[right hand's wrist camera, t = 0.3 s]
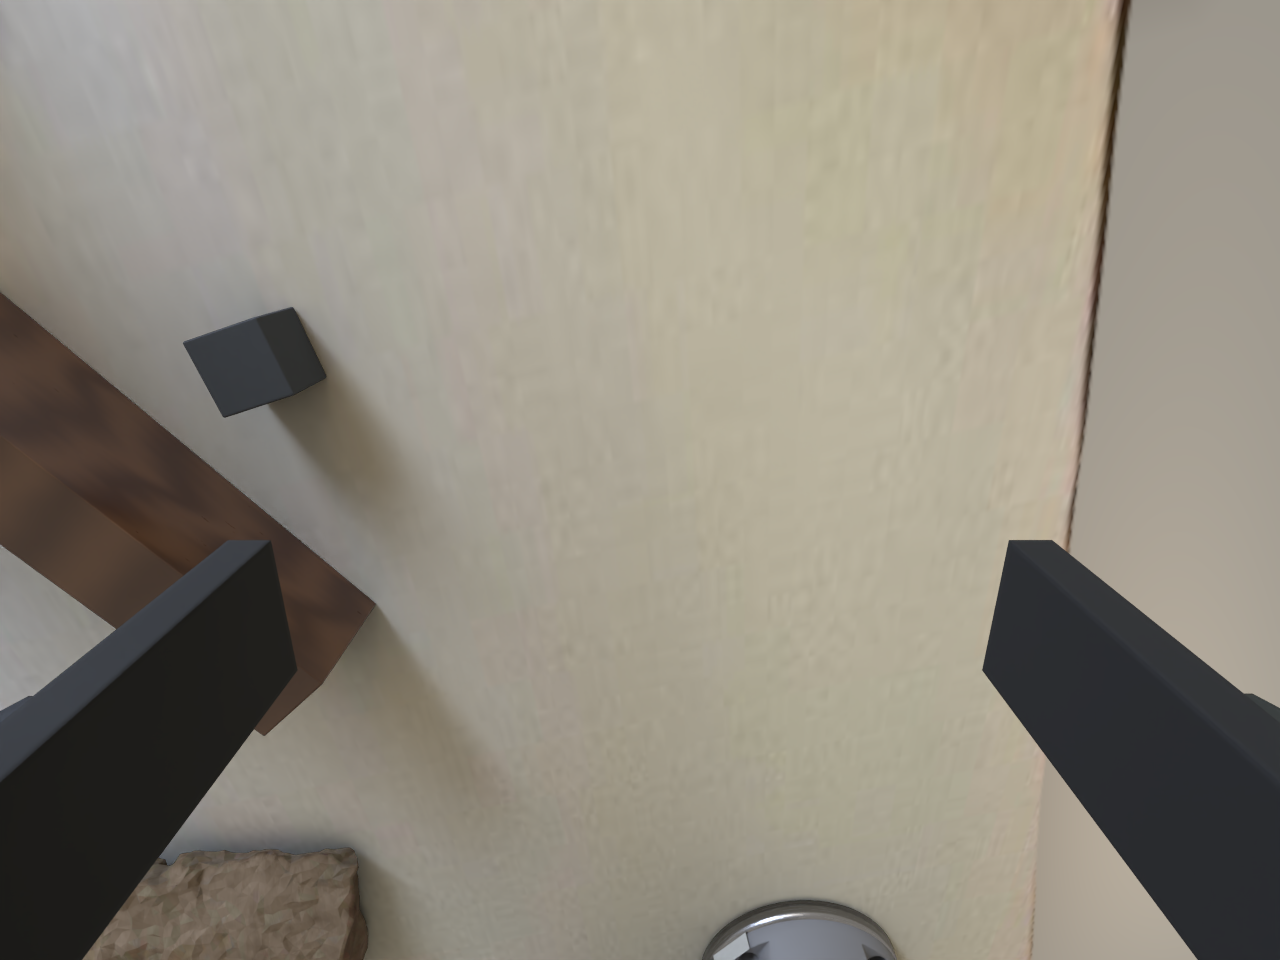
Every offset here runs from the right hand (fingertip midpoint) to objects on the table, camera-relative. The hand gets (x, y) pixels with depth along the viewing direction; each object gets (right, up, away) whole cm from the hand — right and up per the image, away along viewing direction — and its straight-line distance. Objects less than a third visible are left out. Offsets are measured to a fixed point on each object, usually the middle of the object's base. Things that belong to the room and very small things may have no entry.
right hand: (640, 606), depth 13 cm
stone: (-30, -29, +40) cm, 58 cm away
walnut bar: (-27, +2, +28) cm, 39 cm away
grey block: (-20, +9, +26) cm, 34 cm away
